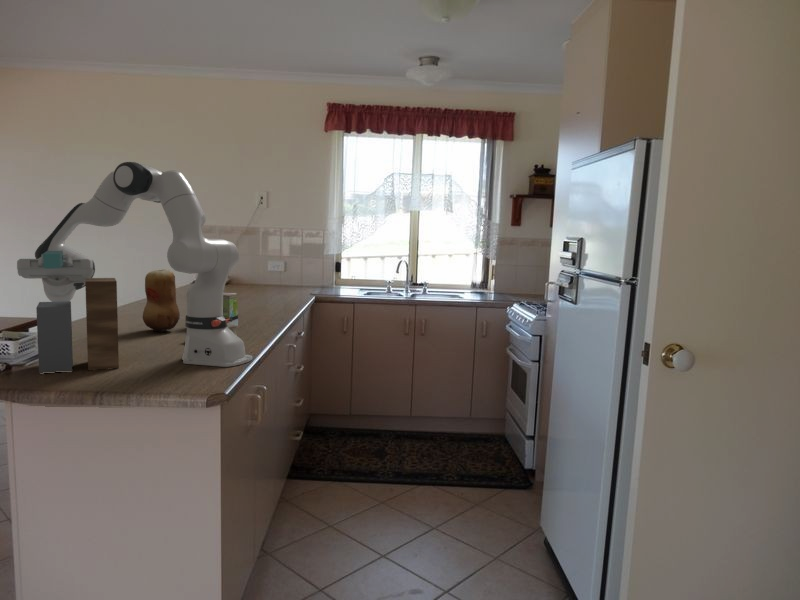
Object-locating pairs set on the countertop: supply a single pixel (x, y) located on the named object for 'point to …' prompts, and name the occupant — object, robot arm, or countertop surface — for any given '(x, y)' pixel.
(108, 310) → the tall stand
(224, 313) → the tea box
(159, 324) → the butternut squash
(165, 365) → the countertop surface
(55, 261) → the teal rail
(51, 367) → the upright gray pillar
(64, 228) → the robot arm
